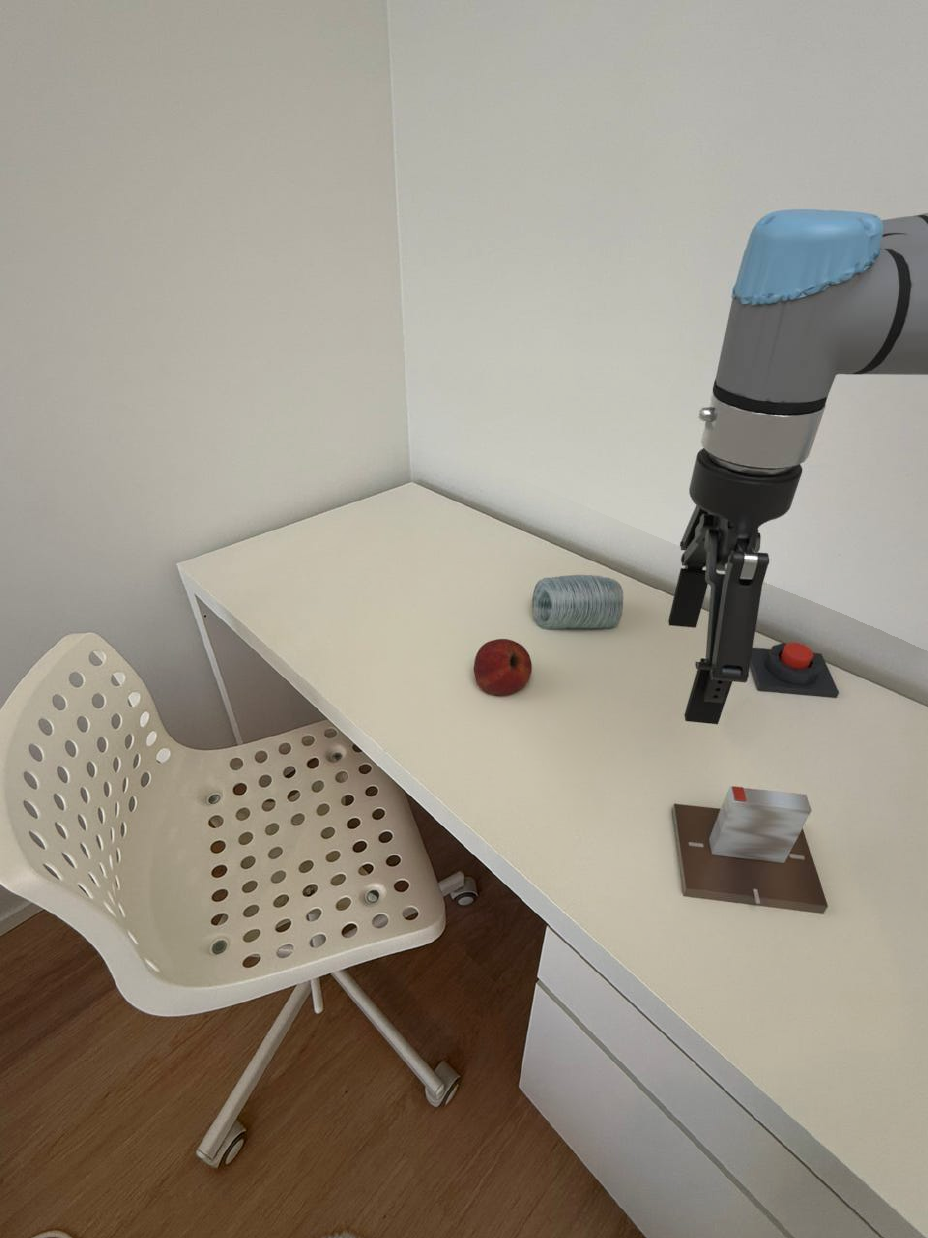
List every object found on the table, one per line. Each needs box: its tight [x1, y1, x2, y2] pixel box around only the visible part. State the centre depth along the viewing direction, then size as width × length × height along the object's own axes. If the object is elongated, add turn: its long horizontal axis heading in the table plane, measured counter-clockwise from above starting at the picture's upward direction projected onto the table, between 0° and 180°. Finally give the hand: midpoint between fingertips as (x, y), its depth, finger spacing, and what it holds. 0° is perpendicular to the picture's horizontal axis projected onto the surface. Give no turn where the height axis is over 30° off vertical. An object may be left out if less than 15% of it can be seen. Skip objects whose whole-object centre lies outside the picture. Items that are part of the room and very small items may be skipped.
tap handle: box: [709, 785, 812, 863], centre depth 63 cm, size 7×2×9 cm, turn 82°
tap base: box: [671, 803, 829, 915], centre depth 66 cm, size 13×11×3 cm
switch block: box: [749, 642, 840, 699], centre depth 88 cm, size 10×8×4 cm
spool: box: [531, 574, 624, 630], centre depth 97 cm, size 14×10×10 cm
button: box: [781, 642, 814, 669], centre depth 86 cm, size 4×4×2 cm
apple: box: [473, 638, 533, 697], centre depth 86 cm, size 7×8×8 cm
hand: (690, 668), depth 61 cm, fingers open, 13 cm apart
